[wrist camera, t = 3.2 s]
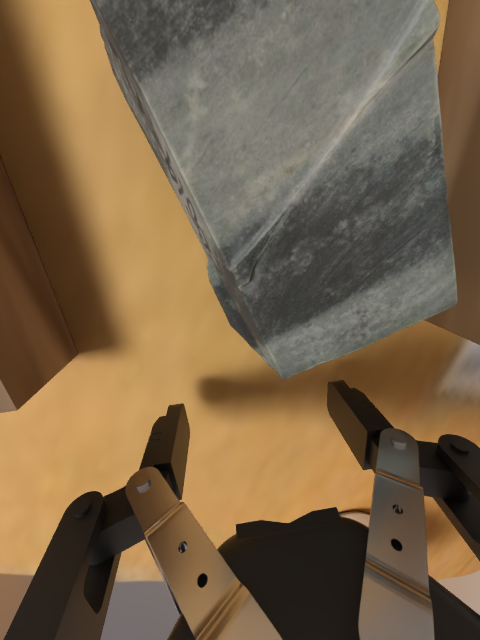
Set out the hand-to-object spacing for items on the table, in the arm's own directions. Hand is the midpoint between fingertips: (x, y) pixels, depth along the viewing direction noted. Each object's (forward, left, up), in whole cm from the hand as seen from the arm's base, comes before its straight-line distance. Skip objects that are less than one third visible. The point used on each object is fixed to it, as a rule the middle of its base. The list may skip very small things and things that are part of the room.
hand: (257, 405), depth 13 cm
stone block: (-2, -11, -3) cm, 11 cm away
